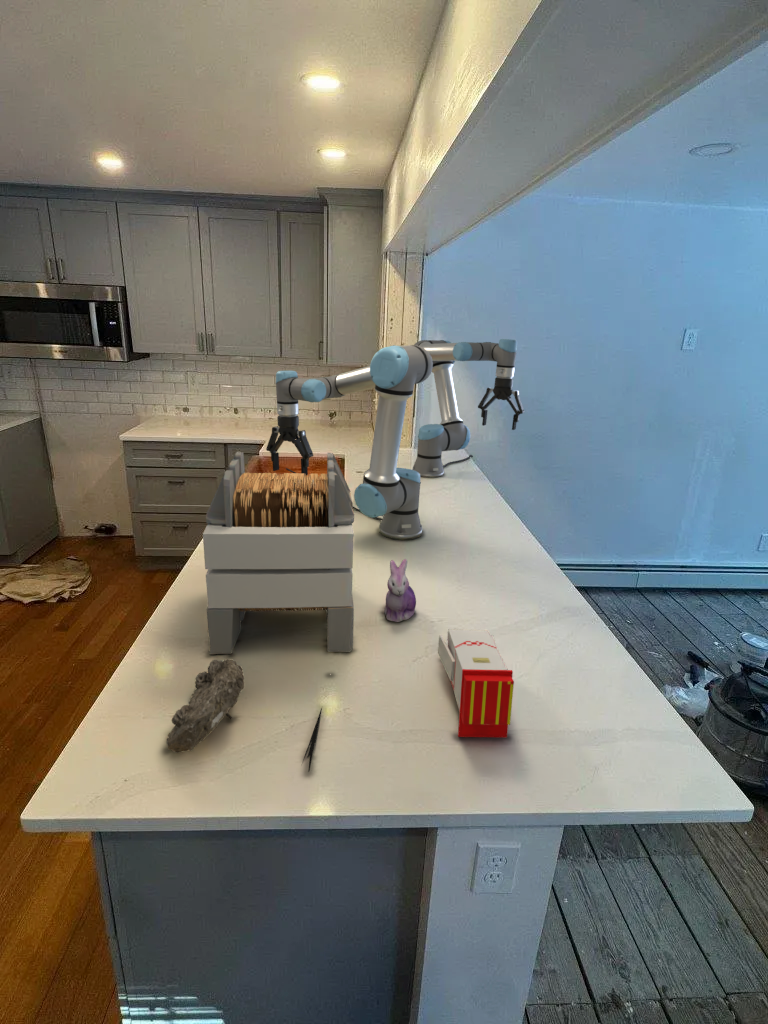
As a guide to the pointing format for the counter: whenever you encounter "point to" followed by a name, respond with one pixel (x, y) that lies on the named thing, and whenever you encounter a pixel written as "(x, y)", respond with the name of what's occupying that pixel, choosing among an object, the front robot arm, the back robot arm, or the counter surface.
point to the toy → (478, 682)
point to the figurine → (399, 594)
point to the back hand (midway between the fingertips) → (498, 427)
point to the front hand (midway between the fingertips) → (290, 473)
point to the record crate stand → (279, 550)
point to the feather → (313, 740)
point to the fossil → (206, 705)
